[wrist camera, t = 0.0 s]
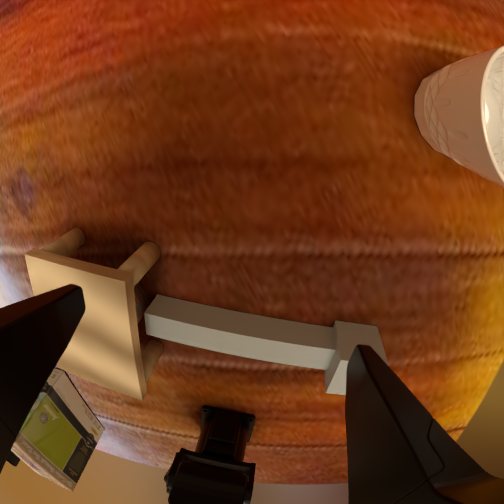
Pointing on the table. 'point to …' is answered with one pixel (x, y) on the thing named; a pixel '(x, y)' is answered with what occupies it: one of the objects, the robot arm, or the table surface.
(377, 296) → the table surface
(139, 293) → the steel puck
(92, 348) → the hinoki shelf
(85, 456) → the tea box
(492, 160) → the white cup
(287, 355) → the gray hammer
